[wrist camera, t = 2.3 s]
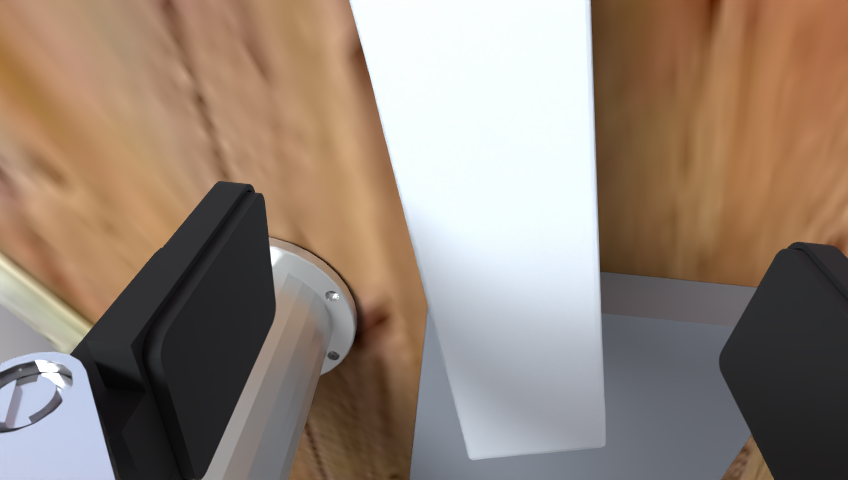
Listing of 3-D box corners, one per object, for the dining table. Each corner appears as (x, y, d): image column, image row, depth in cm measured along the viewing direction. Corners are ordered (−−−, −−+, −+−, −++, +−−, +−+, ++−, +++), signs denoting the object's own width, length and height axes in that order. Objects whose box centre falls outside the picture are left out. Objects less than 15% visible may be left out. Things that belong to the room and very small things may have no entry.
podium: (666, 488, 45) (682, 535, 42) (410, 460, 46) (406, 506, 42) (784, 290, 33) (819, 335, 30) (433, 254, 33) (429, 295, 30)
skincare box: (549, 215, 31) (609, 456, 18) (458, 227, 32) (452, 466, 19) (506, -259, 20) (585, -535, 7) (367, -219, 21) (198, -393, 8)
